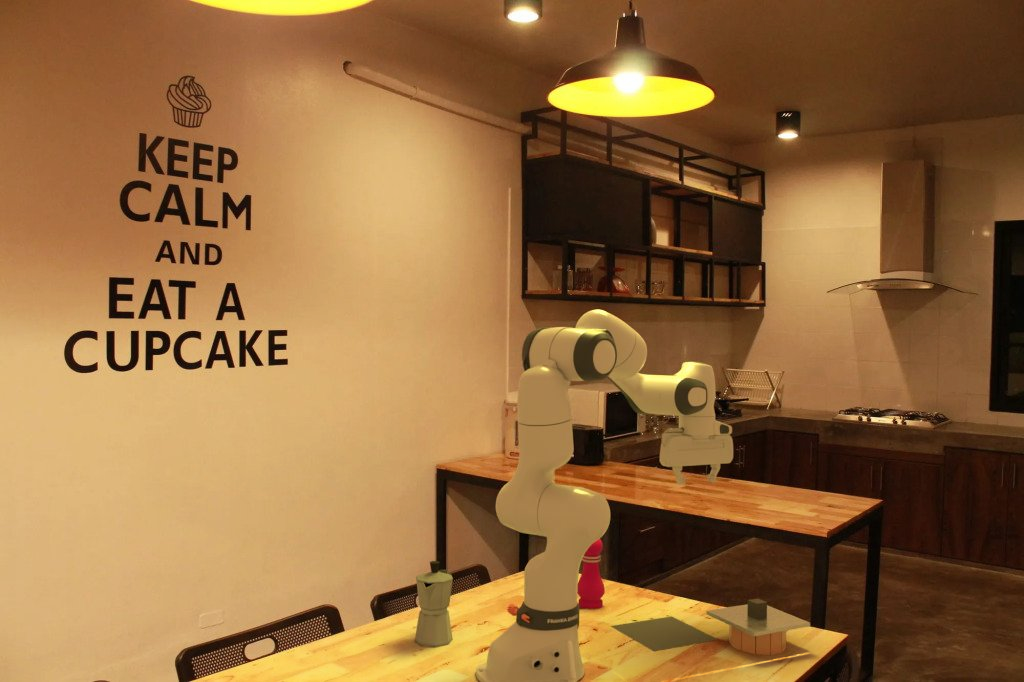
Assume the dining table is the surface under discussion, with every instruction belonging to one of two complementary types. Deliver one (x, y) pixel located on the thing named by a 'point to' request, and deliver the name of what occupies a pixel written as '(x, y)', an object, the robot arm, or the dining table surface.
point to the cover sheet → (759, 624)
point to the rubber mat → (663, 633)
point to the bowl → (757, 642)
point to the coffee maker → (434, 607)
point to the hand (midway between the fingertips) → (696, 483)
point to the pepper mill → (591, 579)
